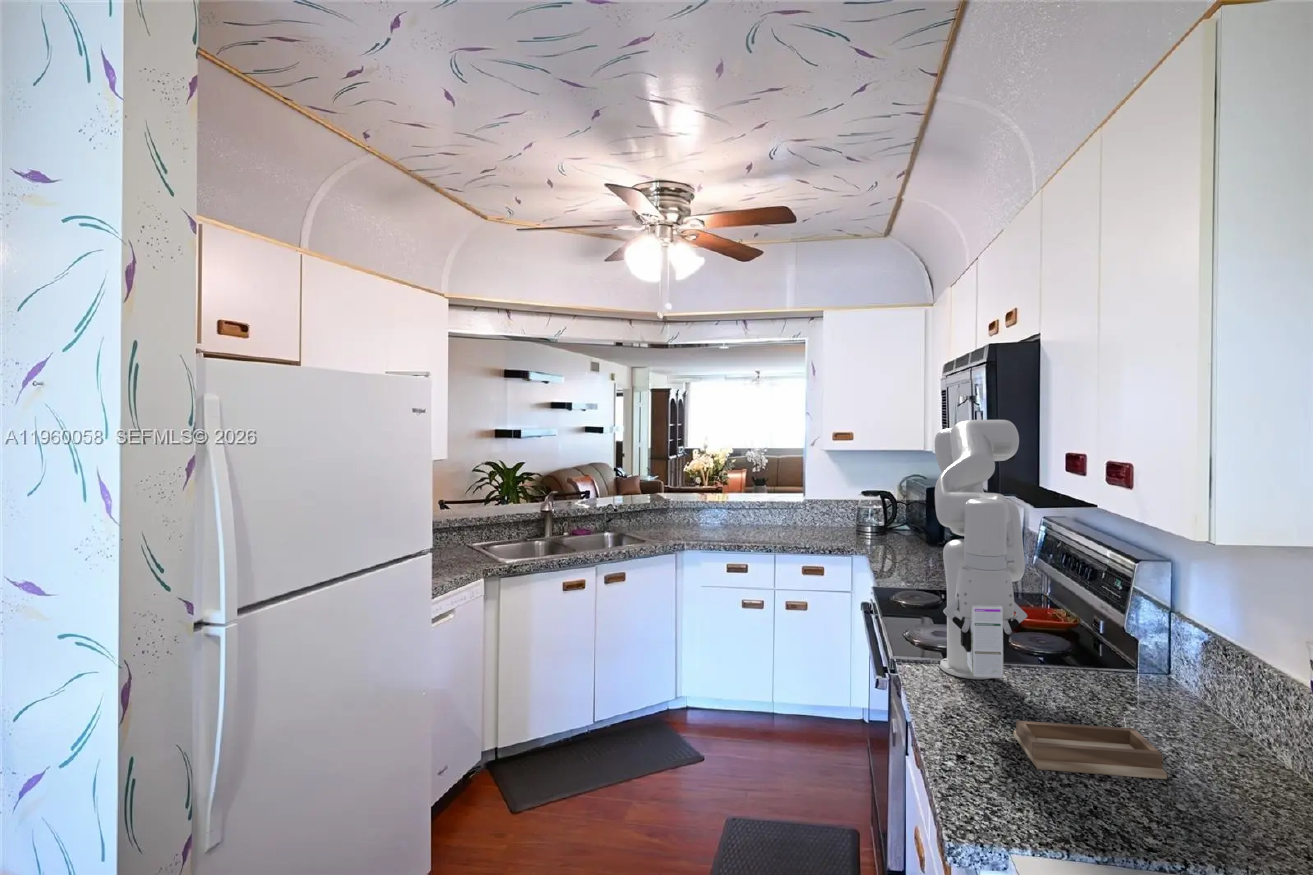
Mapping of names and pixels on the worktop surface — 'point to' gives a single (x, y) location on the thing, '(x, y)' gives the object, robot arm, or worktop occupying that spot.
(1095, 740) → the brown wooden tray
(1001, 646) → the syrup box
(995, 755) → the worktop surface
